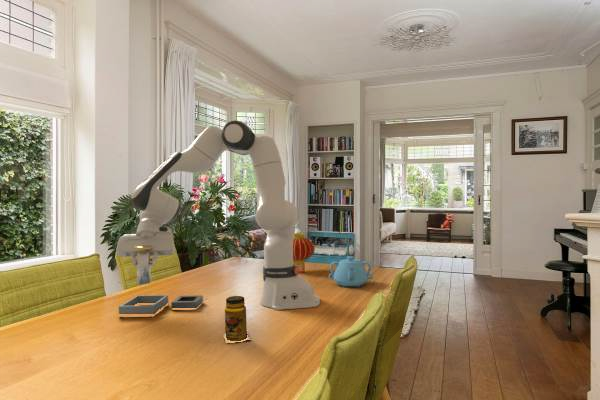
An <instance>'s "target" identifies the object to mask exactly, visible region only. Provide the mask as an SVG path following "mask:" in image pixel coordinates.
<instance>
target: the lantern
mask: <svg viewBox="0 0 600 400" xmlns="http://www.w3.org/2000/svg"><path fill="white" fill-rule="evenodd" d="M296 222H299V216H298V215H297V219H296ZM315 249H316V248H315V245H314V243H313V242H312V240H310V239H309V238H307V237H305V233H301V232H300V233H299V232H296V233H294V240H293V265H295V266H301V269H302V274H304V273H305V261H306V260H308V259H310V258H311V257H312V256H313V254H314V253H315Z"/></svg>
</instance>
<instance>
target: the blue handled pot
mask: <svg viewBox="0 0 600 400" xmlns="http://www.w3.org/2000/svg"><path fill="white" fill-rule="evenodd" d="M335 264H337V265H336V267H335V270H334V269H333V265H335ZM365 264H367V265H368V270H367V269H366V267H365ZM329 267H330V272H331V273H329V274H328V279H330V280H334V281H335V283H336V284H338V285H339V286H341V287H342V288H344V287H356V288H357V287H358V288H360V287H361V286H363V285H365V284H366V283H367V281H368V280H372V279H373V274H372V273H371V270H372V265H371V263H370V262H368V261H361V260H360V259H356V258H355V259H354V256H351V255H350V256H349V255H348V256H346V259H341V260H340V261H332V262H331V263H330V265H329Z"/></svg>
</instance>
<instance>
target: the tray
mask: <svg viewBox="0 0 600 400" xmlns="http://www.w3.org/2000/svg"><path fill="white" fill-rule="evenodd" d="M137 303H155V304H153V305H139V306H134V305H135V304H137ZM167 303H168V304H169V294H152V295H151V294H147V295H145V294H142V295H140V294H139V295H135V296H134V297H132V298H130V299H128V300H127V301H126V302H124V303H122V304H120V305H119V306H118V315H119V314H155V313H156V312H157V311H158V310H159V309H161V308H162V307H163V306H165V305H166V304H167Z"/></svg>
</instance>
